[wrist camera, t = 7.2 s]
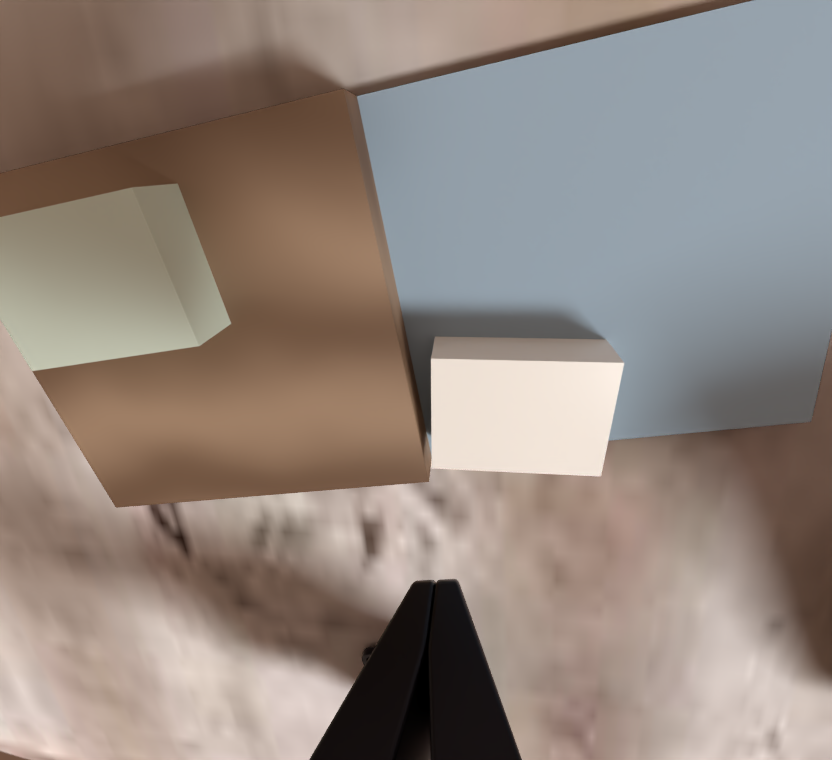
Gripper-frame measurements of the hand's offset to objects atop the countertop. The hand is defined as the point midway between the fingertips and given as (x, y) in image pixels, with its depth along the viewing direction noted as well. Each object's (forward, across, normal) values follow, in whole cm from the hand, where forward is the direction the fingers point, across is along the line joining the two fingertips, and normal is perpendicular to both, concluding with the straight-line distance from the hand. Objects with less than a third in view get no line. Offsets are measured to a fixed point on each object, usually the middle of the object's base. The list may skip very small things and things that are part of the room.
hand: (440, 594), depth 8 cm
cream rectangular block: (+9, -2, +1) cm, 10 cm away
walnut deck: (+10, +8, -3) cm, 13 cm away
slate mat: (+10, -6, -3) cm, 12 cm away
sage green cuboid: (+8, +10, -6) cm, 14 cm away
